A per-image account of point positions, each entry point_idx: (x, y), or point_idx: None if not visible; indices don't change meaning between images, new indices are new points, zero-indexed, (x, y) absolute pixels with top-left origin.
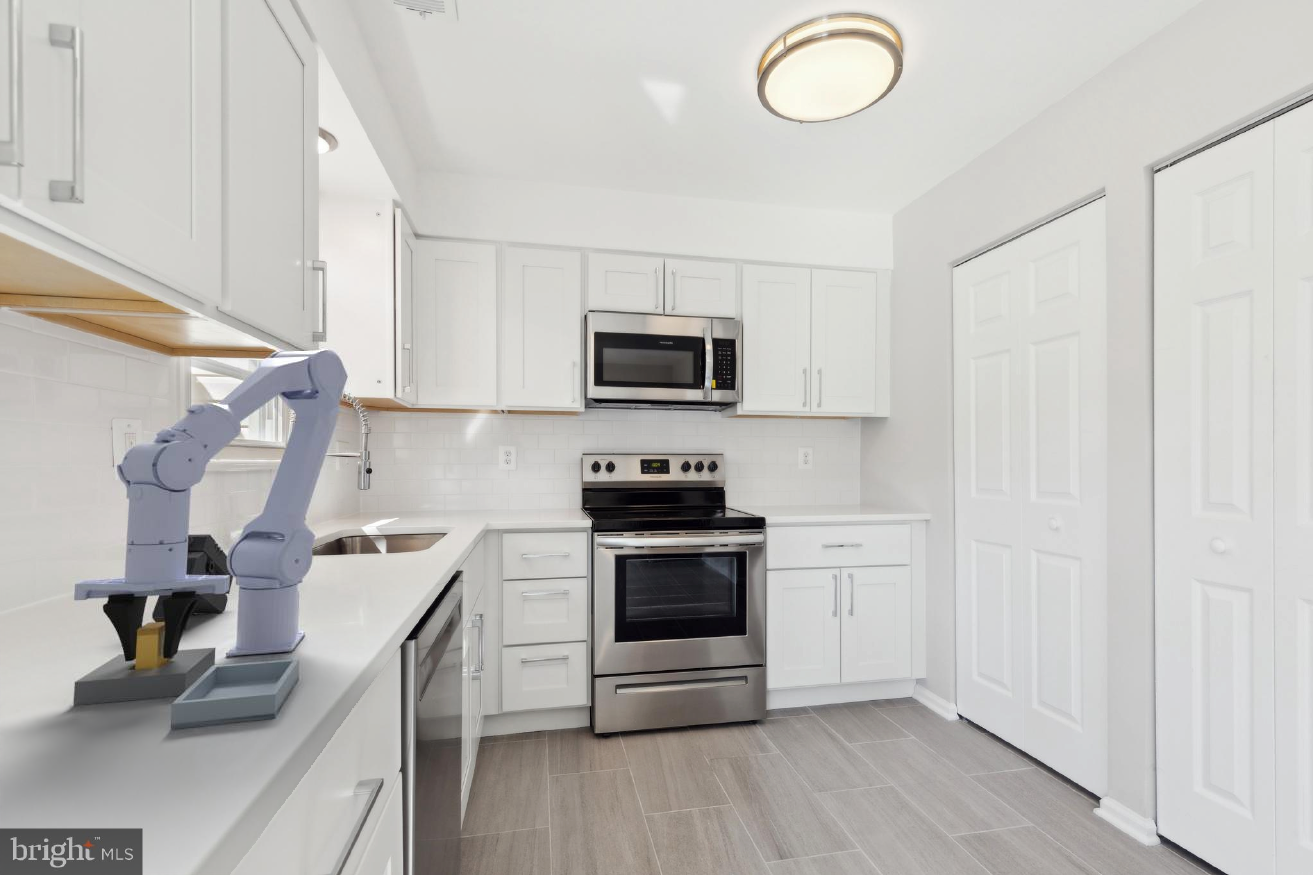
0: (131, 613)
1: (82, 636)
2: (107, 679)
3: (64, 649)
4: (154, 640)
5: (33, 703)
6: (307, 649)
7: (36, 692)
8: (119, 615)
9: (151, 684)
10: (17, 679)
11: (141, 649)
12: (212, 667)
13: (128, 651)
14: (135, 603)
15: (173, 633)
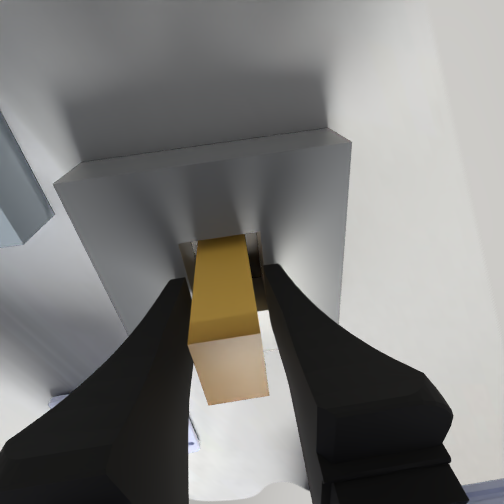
0: (303, 394)
1: (443, 442)
2: (268, 153)
3: (451, 406)
4: (201, 305)
5: (420, 162)
6: (32, 407)
7: (435, 231)
8: (338, 364)
9: (153, 161)
10: (484, 299)
11: (236, 280)
12: (7, 228)
13: (275, 277)
14: (315, 460)
15: (137, 330)
